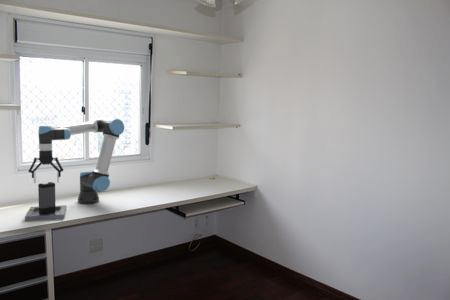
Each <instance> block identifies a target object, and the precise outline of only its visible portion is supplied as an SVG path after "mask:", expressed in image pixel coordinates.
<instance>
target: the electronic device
mask: <svg viewBox="0 0 450 300" xmlns="http://www.w3.org/2000/svg"><path fill="white" fill-rule="evenodd" d="M37 187H38V207H39V214H54V213H55V212H56V206H57V205H56V183H55V182H52V181H49V182H47V183H38V184H37Z"/></svg>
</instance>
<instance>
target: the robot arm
mask: <svg viewBox="0 0 450 300" xmlns="http://www.w3.org/2000/svg"><path fill="white" fill-rule="evenodd" d="M124 131H125V124H124V122H123V120H121V119H120V118H116V117H101V118H96V119H92V120H91V121H85V122H79V123H78V122H76V123H70V124H65V125H57V126H51V125H40V126H39V127H38V150H39V152H38V157H34V158H33V162H32V164H31V166H30V168H28V173H31V178H32V179H33V184H36V183H37V178H36V177H37V173H36V171H37V170H38V169H39V167H40V166H41V165H50V166H51V167H52V168H54V170H56V171H57V172H56V181H57V182H56V183H59V182H60V178H61V176H62V175H61V173H62V172H64V168H63V166H62V165H61V163H60V161H59V158H58V156H55V157H53V141H63V140H64V141H66V140H69V139H71V138H72V137H71V136H75V135H81V134H86V133H94V134H95V133H102V136H103V141H102V143H101V147H100V150H99V155H98V158H97V163H96V167H95V168H94V170H84V171H80V174H79V194H78V196H77V203H79V204H83V205H90V204H96V203H99V202H100V197H99V194H98V192H99V193H102V192H105V191H107V190H108V189H109V187H110V185H111V181H110V179H109V177H110V174H109V168H110V163H111V162H112V161H111V160H112V156H113V153H114V148H115V145H116V141H117V140H118V139H119V138H120V135H122V134H123V133H124ZM53 160H54V161H55V162H56V164H57V165H56V164H55V163H54V162H53ZM38 161H39V162H38ZM36 162H38V164H37V165H36V166H35V164H36ZM34 166H35V167H34ZM33 168H34V169H33Z"/></svg>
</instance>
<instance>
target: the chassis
mask: <svg viewBox="0 0 450 300" xmlns="http://www.w3.org/2000/svg"><path fill="white" fill-rule="evenodd" d="M55 206H56V212H55V213H54V214H39V206H30V207H29V209H28V211H27V213H26V214H25V216H24V222H36V221H37V222H39V221H52V220H65V215H66V213H67V205H66V204H65V205H64V204H63V205H55Z"/></svg>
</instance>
